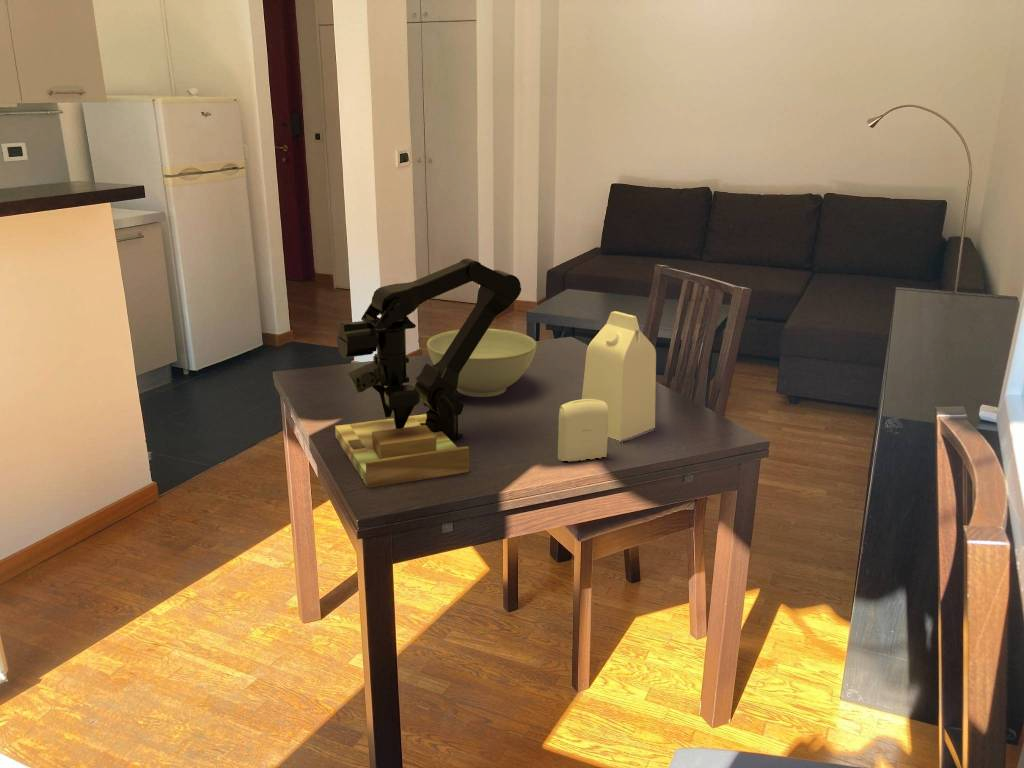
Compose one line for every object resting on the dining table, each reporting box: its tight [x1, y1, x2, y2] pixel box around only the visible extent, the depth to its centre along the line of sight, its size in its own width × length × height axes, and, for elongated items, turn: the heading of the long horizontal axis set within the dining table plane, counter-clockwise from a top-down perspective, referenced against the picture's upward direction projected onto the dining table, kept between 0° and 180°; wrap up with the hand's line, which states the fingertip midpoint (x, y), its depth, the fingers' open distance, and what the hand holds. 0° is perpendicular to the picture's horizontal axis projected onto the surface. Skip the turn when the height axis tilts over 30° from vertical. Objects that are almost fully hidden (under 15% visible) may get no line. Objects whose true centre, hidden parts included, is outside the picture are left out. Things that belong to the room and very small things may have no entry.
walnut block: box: [372, 425, 436, 459], centre depth 169 cm, size 7×11×4 cm, turn 112°
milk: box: [581, 310, 657, 441], centre depth 185 cm, size 12×12×26 cm
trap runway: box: [334, 413, 470, 489], centre depth 174 cm, size 27×20×5 cm
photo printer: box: [557, 398, 609, 462], centre depth 172 cm, size 10×4×12 cm, turn 104°
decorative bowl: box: [426, 328, 538, 398], centre depth 212 cm, size 27×27×12 cm
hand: (393, 424), depth 176 cm, fingers open, 8 cm apart
